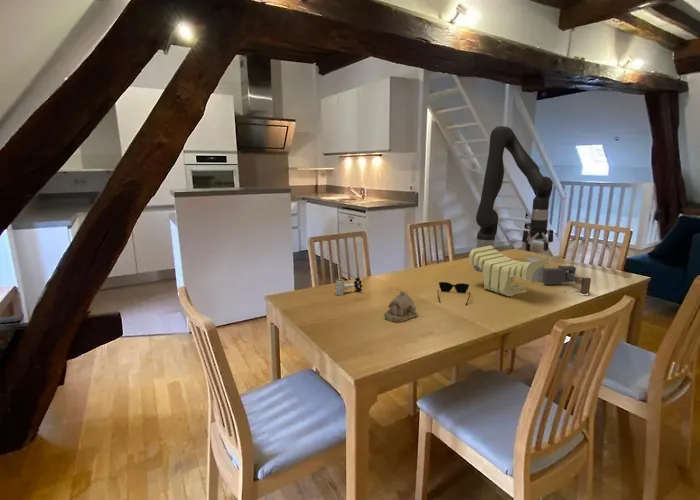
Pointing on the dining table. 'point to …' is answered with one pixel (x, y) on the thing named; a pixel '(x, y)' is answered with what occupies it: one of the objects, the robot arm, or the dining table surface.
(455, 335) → the dining table surface
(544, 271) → the collar
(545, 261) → the slatted curved stool
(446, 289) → the sunglasses
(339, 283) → the valve
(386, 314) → the ceramic model
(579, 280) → the brown l-shaped piece
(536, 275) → the small box
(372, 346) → the dining table surface
